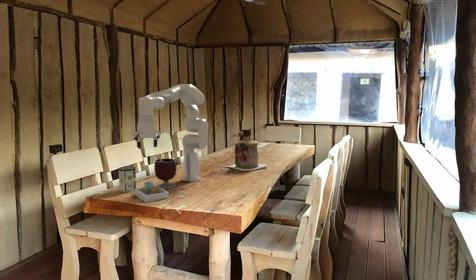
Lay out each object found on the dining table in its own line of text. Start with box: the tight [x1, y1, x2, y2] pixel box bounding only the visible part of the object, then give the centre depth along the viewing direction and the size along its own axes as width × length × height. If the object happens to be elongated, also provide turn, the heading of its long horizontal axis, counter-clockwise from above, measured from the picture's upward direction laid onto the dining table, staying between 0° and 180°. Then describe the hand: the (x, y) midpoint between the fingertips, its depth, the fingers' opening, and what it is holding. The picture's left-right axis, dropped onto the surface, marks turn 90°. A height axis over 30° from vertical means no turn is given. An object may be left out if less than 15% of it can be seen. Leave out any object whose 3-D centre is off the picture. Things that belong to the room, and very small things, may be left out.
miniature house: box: [117, 165, 137, 193], centre depth 229 cm, size 10×10×14 cm
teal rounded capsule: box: [144, 180, 154, 195], centre depth 219 cm, size 5×5×7 cm
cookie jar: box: [225, 128, 268, 172], centre depth 293 cm, size 25×25×32 cm
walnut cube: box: [148, 187, 160, 195], centre depth 212 cm, size 5×5×5 cm
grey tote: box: [134, 185, 170, 203], centre depth 216 cm, size 18×14×4 cm
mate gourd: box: [154, 154, 177, 190], centre depth 238 cm, size 16×14×20 cm
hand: (147, 147), depth 215 cm, fingers open, 9 cm apart
